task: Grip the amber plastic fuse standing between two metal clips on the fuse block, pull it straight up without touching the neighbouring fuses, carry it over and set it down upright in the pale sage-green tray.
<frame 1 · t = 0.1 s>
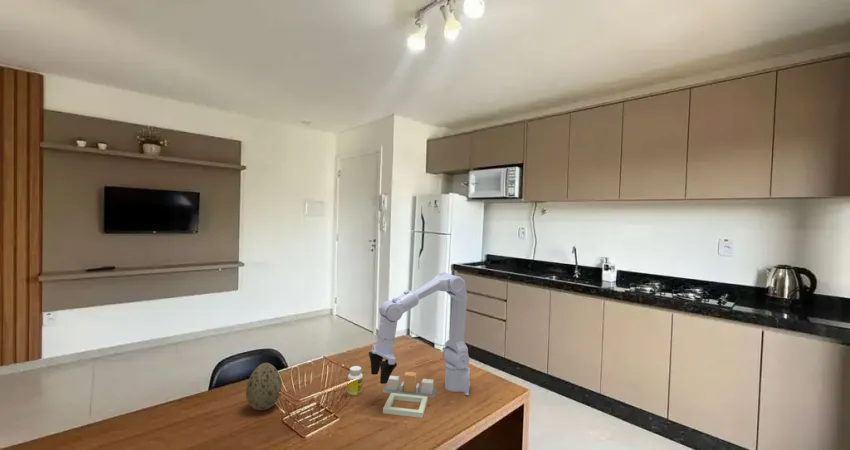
hand: (378, 378, 123), 11 cm above the table, tool pointing down, fingers open, 7 cm apart
fuse block: (409, 392, 136), on the table
decorative egg: (263, 408, 122), on the table
supplement bottle: (354, 395, 133), on the table
tray: (405, 409, 124), on the table
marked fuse: (409, 390, 136), point 1 cm above the table, touching fuse block
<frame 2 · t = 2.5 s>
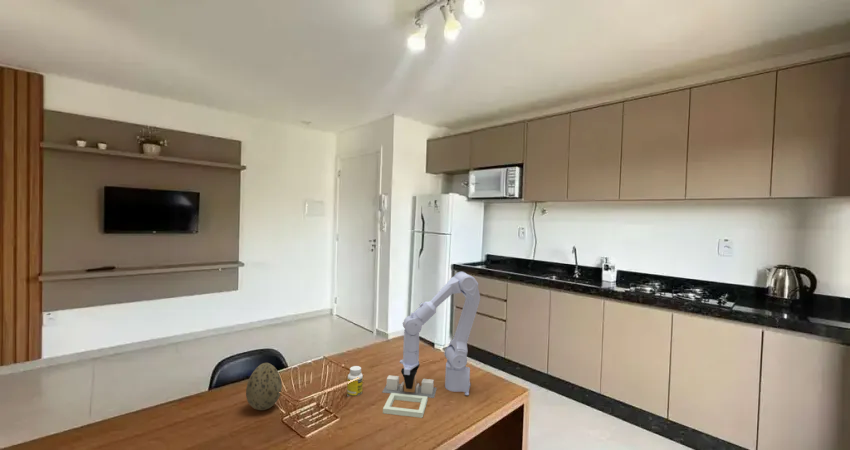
hand: (410, 386, 136), 2 cm above the table, tool pointing down, fingers closed on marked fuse, 3 cm apart
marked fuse: (409, 390, 136), point 1 cm above the table, touching fuse block, gripper
everything else where it was.
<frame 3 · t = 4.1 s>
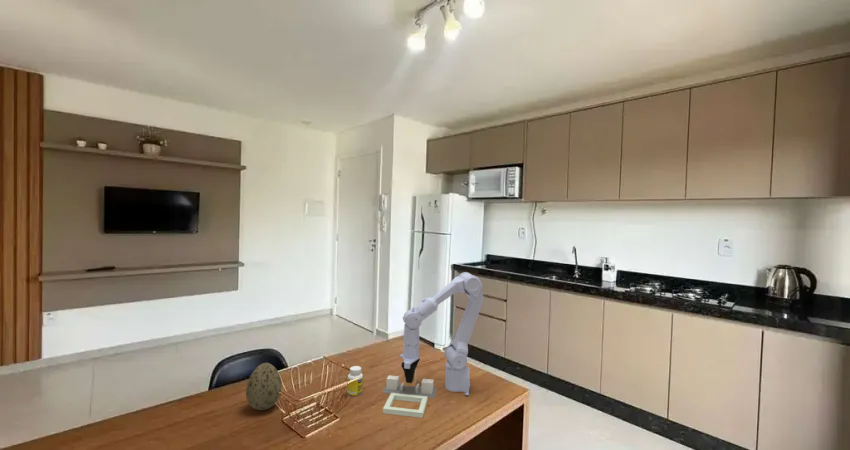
hand: (410, 380, 136), 5 cm above the table, tool pointing down, fingers closed on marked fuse, 3 cm apart
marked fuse: (410, 384, 136), point 3 cm above the table, touching gripper
everything else where it was.
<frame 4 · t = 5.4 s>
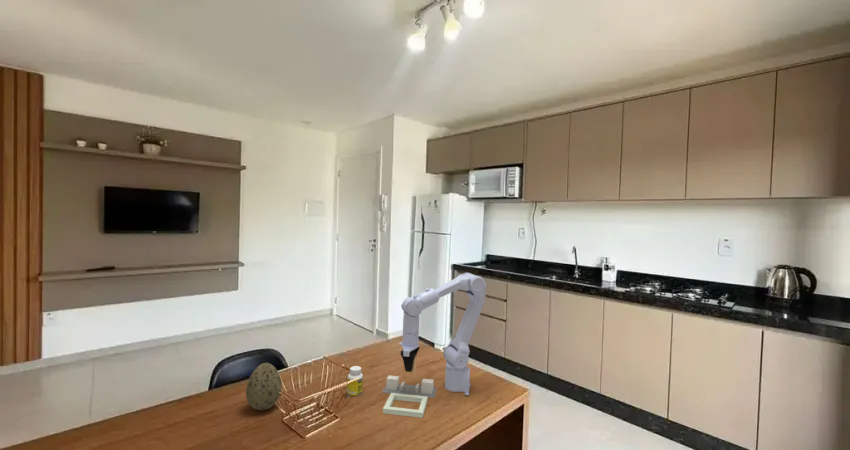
hand: (409, 369, 133), 10 cm above the table, tool pointing down, fingers closed on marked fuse, 3 cm apart
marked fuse: (409, 373, 133), point 9 cm above the table, touching gripper
everything else where it was.
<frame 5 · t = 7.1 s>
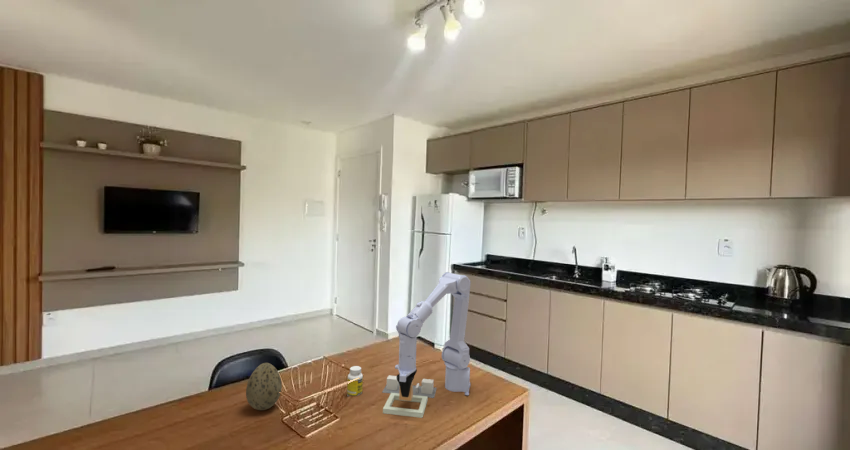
hand: (406, 394, 124), 5 cm above the table, tool pointing down, fingers closed on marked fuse, 3 cm apart
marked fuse: (406, 398, 124), point 4 cm above the table, touching gripper
everything else where it was.
when the fingers open (4 cm above the table, at t = 8.5 s): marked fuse drops 2 cm, resting on tray.
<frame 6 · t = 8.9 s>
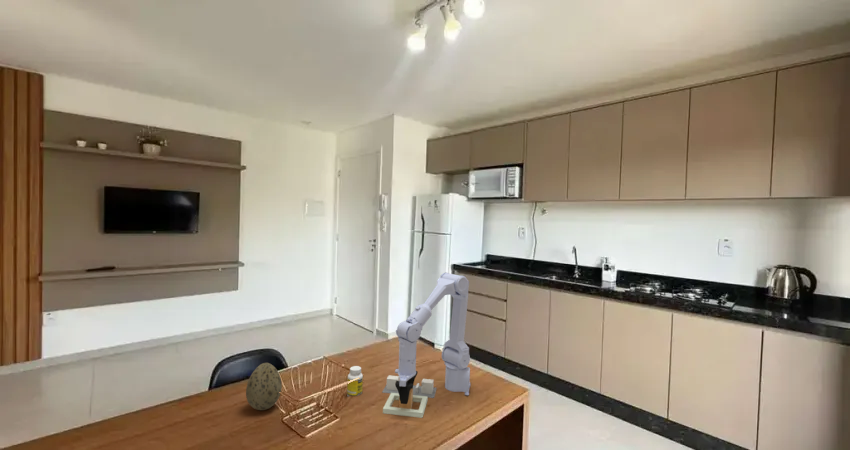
hand: (406, 398, 124), 4 cm above the table, tool pointing down, fingers open, 6 cm apart
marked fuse: (405, 407, 124), point 1 cm above the table, touching tray
everything else where it was.
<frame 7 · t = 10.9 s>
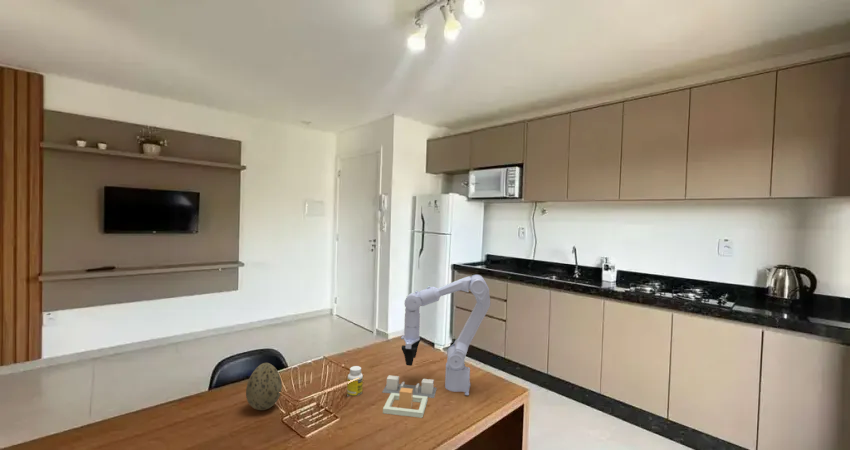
hand: (410, 361, 141), 10 cm above the table, tool pointing down, fingers open, 7 cm apart
nothing on the table moved.
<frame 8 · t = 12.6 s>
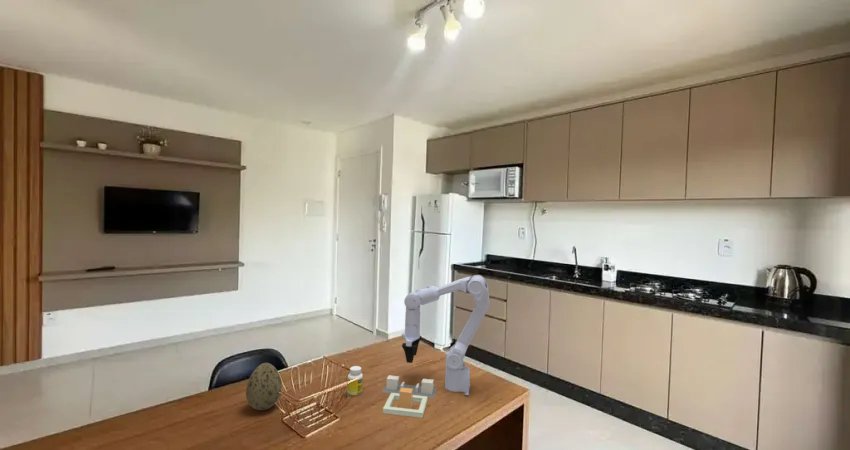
hand: (411, 358, 143), 10 cm above the table, tool pointing down, fingers open, 7 cm apart
nothing on the table moved.
at the end: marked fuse 0.1 cm off-centre on the tray, point 0.6 cm above the tray's base; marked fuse tilted 0°; the gripper is holding nothing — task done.
